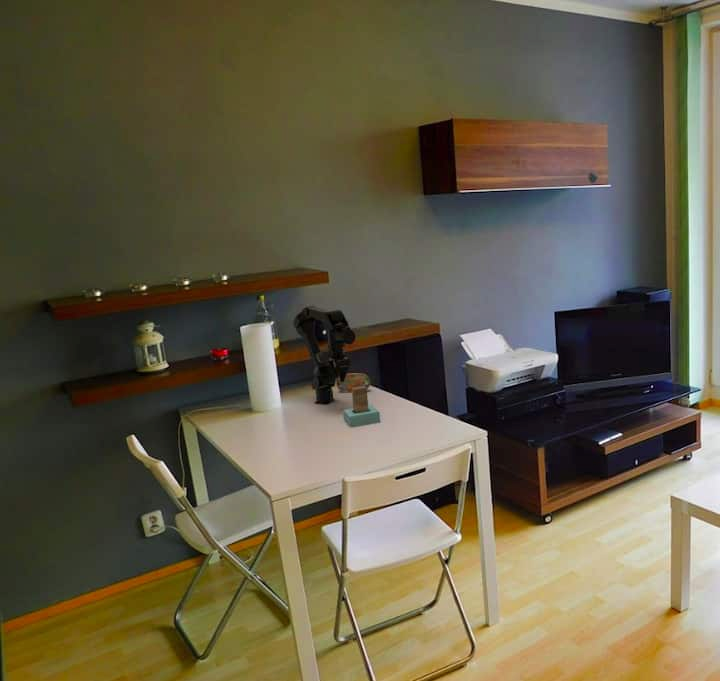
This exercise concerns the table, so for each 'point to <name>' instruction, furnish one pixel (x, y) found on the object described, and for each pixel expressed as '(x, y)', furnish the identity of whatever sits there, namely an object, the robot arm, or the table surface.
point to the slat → (360, 399)
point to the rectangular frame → (361, 417)
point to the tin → (353, 382)
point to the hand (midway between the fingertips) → (339, 379)
